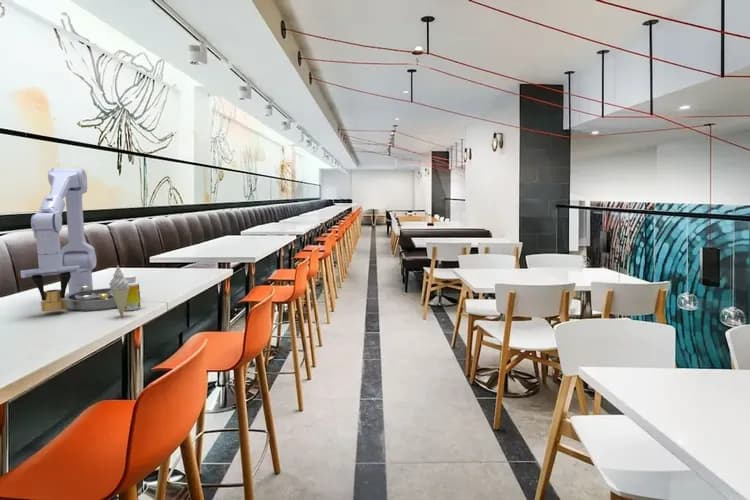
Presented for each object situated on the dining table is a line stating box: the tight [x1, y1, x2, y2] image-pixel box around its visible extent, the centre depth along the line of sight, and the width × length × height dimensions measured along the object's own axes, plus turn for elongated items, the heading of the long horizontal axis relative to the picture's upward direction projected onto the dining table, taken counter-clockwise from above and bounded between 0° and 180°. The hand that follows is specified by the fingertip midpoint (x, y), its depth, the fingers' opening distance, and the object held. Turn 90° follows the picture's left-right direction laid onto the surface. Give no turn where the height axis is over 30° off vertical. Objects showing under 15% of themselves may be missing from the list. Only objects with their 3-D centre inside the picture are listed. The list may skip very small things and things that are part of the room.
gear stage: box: [63, 284, 141, 312], centre depth 159 cm, size 21×21×6 cm
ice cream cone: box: [108, 264, 129, 317], centre depth 142 cm, size 5×5×15 cm
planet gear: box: [40, 289, 67, 312], centre depth 147 cm, size 6×6×6 cm
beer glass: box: [124, 274, 141, 312], centre depth 151 cm, size 6×6×10 cm
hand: (53, 299), depth 147 cm, fingers closed on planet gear, 4 cm apart
